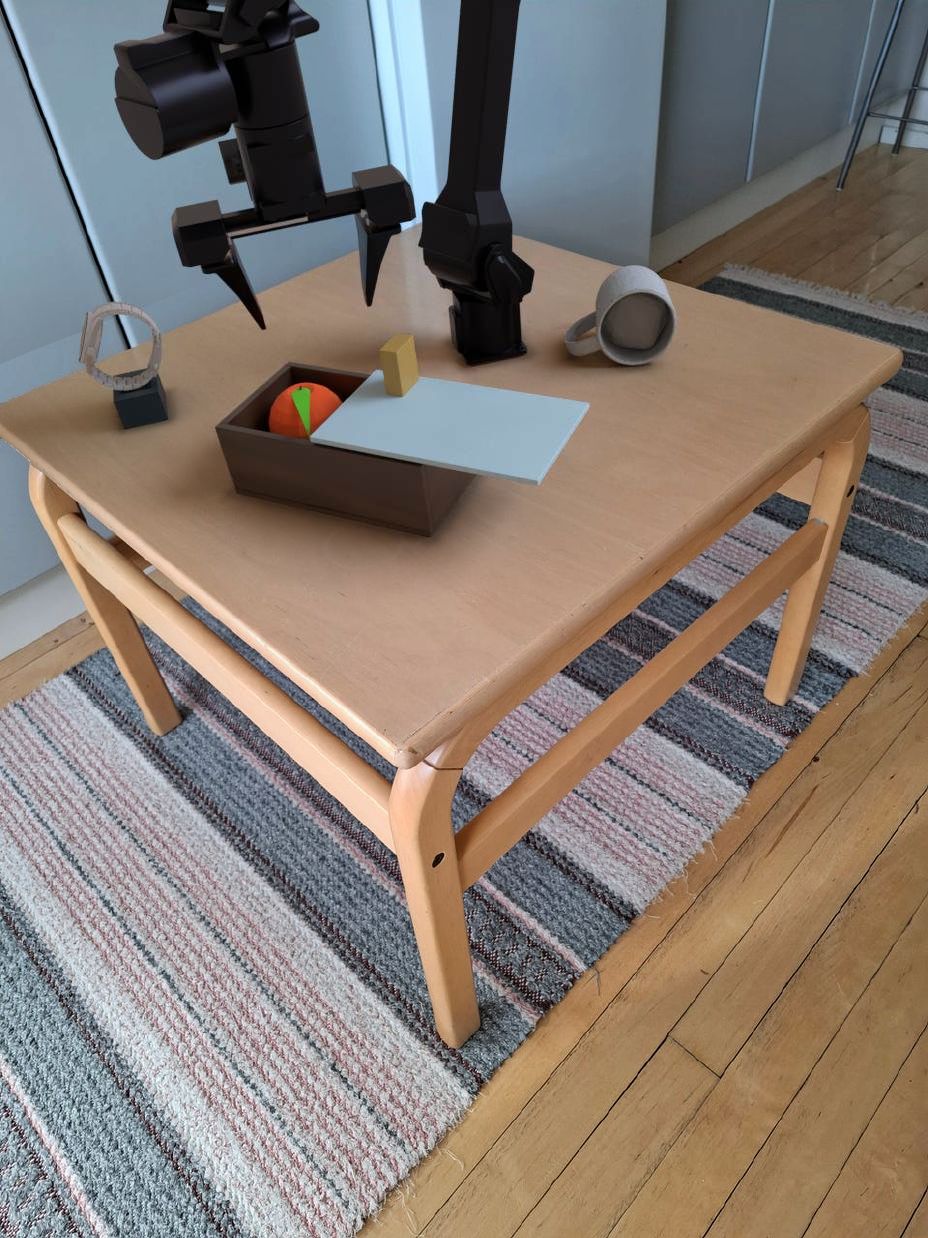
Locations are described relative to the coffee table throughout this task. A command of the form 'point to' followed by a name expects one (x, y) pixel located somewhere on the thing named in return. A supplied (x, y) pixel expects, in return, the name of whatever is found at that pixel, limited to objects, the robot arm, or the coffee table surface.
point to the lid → (451, 421)
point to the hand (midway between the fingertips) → (316, 316)
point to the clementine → (302, 410)
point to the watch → (132, 391)
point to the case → (332, 464)
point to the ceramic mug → (627, 318)
